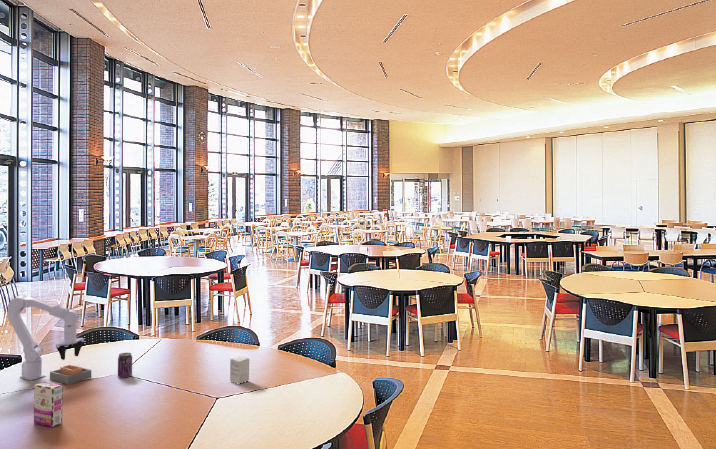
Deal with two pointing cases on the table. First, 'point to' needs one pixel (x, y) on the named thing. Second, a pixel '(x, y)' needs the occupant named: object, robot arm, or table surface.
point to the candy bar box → (48, 404)
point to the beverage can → (124, 365)
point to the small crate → (70, 370)
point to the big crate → (72, 378)
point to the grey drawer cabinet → (239, 369)
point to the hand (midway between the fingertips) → (69, 357)
